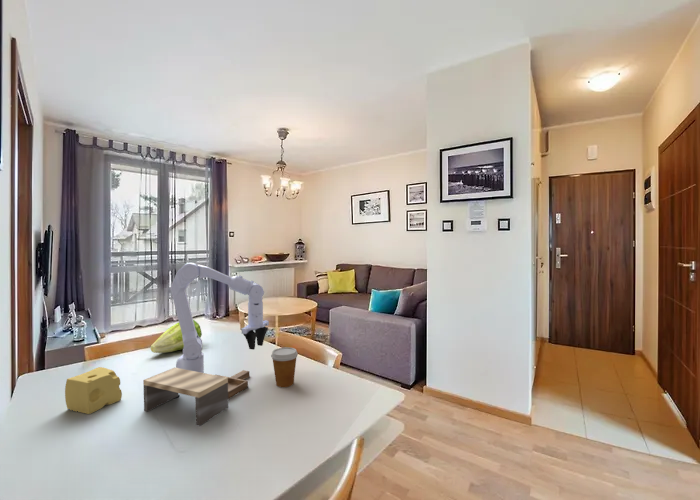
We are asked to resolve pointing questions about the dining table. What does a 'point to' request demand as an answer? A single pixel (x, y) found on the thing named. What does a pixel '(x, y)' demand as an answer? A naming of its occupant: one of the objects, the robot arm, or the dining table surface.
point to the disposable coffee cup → (284, 365)
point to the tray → (237, 383)
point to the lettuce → (172, 339)
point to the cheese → (92, 390)
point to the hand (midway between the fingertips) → (256, 347)
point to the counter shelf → (188, 391)
